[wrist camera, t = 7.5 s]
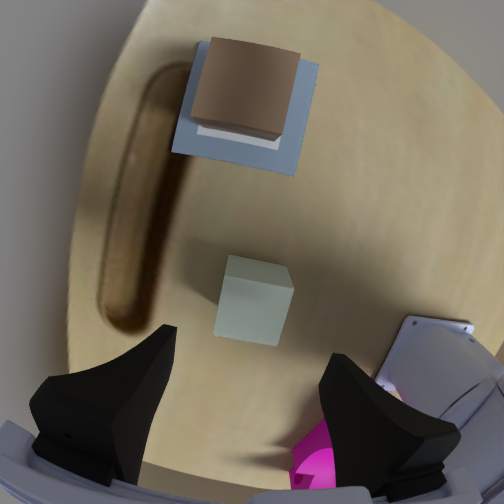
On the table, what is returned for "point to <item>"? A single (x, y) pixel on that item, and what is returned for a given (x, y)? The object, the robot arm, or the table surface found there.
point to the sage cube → (253, 301)
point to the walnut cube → (245, 88)
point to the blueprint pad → (241, 146)
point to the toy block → (314, 461)
